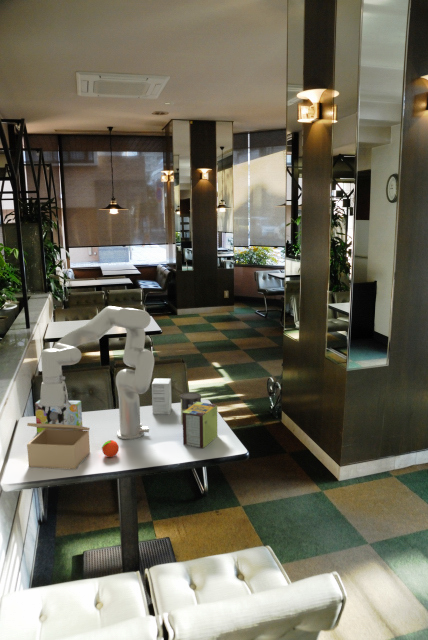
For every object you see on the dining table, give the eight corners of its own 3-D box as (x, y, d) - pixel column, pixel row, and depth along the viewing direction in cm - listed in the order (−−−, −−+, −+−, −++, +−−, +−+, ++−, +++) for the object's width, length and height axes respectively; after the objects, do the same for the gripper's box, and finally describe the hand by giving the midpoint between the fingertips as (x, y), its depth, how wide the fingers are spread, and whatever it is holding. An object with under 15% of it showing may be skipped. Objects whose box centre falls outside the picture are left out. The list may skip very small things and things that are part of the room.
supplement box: (154, 407, 276) (154, 378, 273) (171, 407, 276) (171, 378, 273) (152, 414, 266) (151, 383, 263) (169, 414, 266) (169, 383, 263)
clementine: (106, 462, 212) (106, 446, 211) (97, 457, 217) (96, 441, 216) (122, 455, 218) (121, 440, 217) (112, 451, 223) (112, 435, 222)
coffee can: (205, 423, 253) (204, 396, 251) (186, 427, 248) (186, 400, 246) (195, 417, 262) (194, 390, 260) (177, 421, 257) (176, 394, 254)
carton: (89, 452, 222) (88, 430, 220) (75, 469, 206) (74, 446, 204) (46, 450, 224) (44, 428, 223) (28, 467, 209) (27, 444, 207)
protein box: (217, 435, 238) (217, 404, 236) (203, 448, 225) (203, 415, 222) (197, 432, 243) (197, 401, 240) (182, 444, 229) (181, 412, 226)
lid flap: (89, 430, 220) (91, 415, 222) (75, 427, 205) (77, 411, 206) (44, 428, 223) (46, 413, 224) (27, 425, 207) (29, 409, 209)
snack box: (83, 429, 247) (81, 400, 244) (79, 434, 241) (77, 404, 239) (41, 428, 249) (39, 399, 246) (36, 433, 244) (33, 403, 241)
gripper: (75, 376, 209) (78, 419, 213) (37, 375, 211) (40, 417, 215) (68, 382, 202) (71, 426, 205) (28, 381, 204) (31, 424, 207)
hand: (55, 421), depth 210 cm, fingers closed on lid flap, 4 cm apart
